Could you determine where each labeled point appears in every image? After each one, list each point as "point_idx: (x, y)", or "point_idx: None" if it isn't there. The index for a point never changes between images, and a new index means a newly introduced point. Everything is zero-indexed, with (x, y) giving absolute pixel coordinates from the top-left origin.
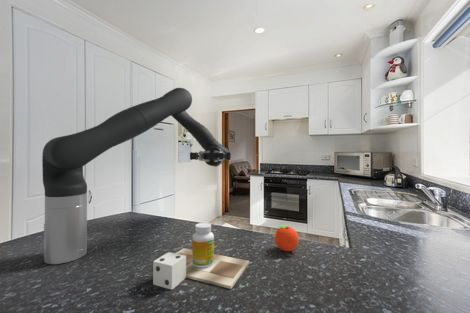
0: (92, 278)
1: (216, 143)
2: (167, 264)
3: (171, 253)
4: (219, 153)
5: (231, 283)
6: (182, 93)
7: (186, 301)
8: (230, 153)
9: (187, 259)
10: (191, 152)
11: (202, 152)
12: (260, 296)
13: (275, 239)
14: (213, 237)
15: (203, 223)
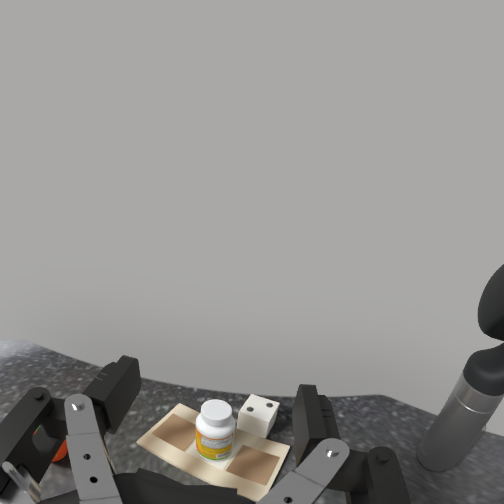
0: (355, 428)
1: None
2: (258, 396)
3: (263, 418)
4: (101, 439)
5: (178, 406)
6: None
7: (228, 398)
8: (31, 395)
9: (243, 461)
10: (381, 453)
11: (282, 482)
12: (152, 391)
13: (65, 447)
14: (196, 418)
15: (216, 415)
